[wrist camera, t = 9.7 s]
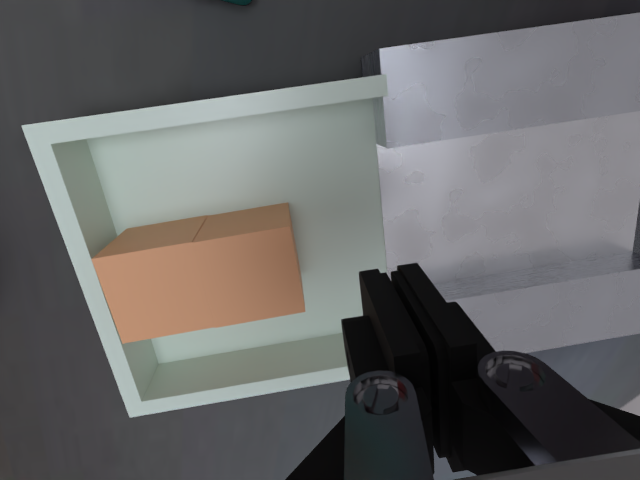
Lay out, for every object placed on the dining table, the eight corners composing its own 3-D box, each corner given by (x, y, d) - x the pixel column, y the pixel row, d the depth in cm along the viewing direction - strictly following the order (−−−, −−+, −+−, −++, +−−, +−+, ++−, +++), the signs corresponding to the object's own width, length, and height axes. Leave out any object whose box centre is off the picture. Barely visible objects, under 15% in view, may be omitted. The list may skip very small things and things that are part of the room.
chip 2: (287, 202, 20) (289, 226, 17) (301, 274, 22) (305, 311, 18) (208, 215, 20) (191, 242, 16) (226, 287, 22) (215, 328, 18)
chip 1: (207, 214, 20) (191, 241, 16) (226, 287, 22) (214, 327, 18) (126, 228, 20) (91, 259, 16) (150, 300, 21) (122, 343, 18)
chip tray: (362, 79, 21) (386, 73, 16) (384, 319, 25) (407, 369, 21) (81, 119, 20) (21, 125, 15) (157, 357, 25) (129, 417, 20)
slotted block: (630, 20, 21) (708, 3, 17) (599, 297, 26) (652, 330, 22) (360, 57, 20) (379, 48, 16) (385, 333, 26) (403, 374, 22)
